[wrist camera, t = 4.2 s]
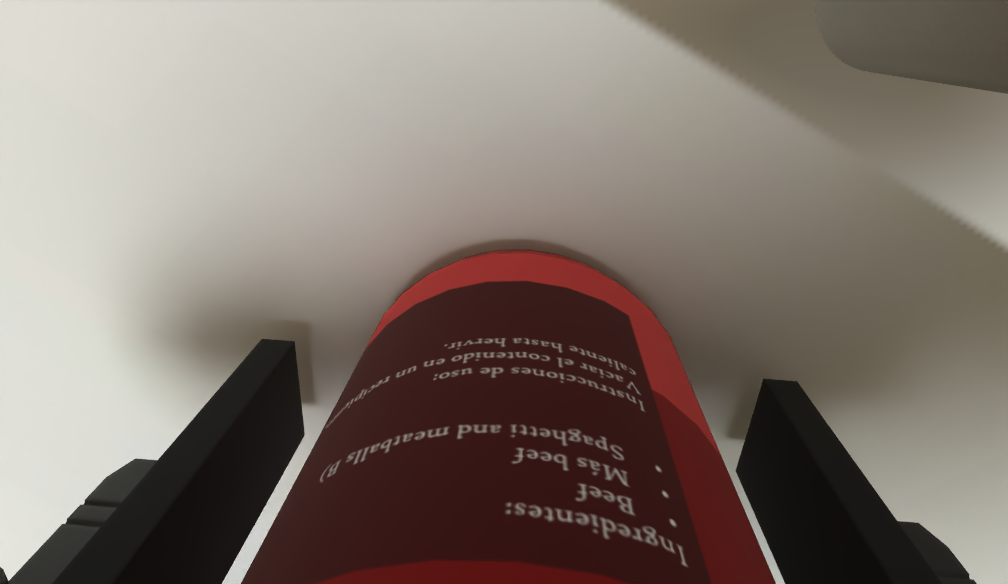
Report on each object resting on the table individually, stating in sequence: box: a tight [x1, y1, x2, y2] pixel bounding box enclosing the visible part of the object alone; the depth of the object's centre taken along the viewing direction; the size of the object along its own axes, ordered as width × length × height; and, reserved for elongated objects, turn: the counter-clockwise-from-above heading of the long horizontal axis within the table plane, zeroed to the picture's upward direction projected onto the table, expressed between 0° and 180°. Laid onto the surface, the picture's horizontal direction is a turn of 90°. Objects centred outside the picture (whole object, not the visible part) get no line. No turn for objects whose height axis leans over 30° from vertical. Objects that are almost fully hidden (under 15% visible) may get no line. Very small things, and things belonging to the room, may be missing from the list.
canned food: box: [241, 250, 776, 584], centre depth 10 cm, size 8×8×11 cm
